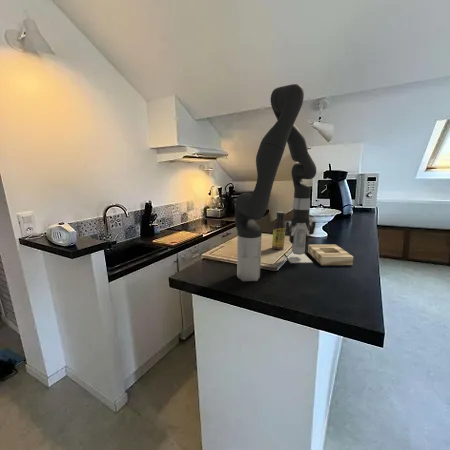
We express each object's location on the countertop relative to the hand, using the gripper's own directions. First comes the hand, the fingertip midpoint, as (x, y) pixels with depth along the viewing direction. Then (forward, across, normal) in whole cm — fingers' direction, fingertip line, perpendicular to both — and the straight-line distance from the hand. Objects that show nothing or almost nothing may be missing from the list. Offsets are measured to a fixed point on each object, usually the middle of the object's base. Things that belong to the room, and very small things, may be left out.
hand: (298, 242), depth 122 cm
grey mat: (+8, 0, 0) cm, 8 cm away
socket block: (+8, +15, 0) cm, 17 cm away
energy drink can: (+5, 0, 0) cm, 5 cm away
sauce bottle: (+8, -6, +15) cm, 18 cm away
